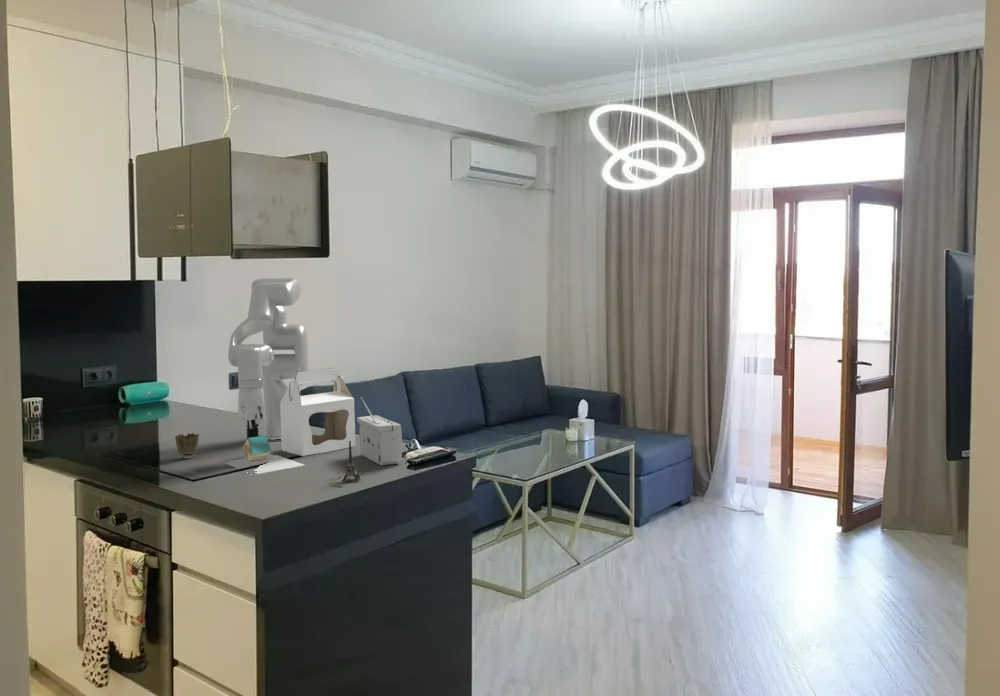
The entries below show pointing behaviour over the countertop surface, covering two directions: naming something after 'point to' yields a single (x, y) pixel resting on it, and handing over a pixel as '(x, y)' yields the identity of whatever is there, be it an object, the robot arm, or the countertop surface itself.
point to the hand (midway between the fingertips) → (252, 439)
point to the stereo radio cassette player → (380, 439)
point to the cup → (187, 444)
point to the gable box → (302, 407)
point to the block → (257, 448)
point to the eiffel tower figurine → (347, 473)
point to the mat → (277, 465)
